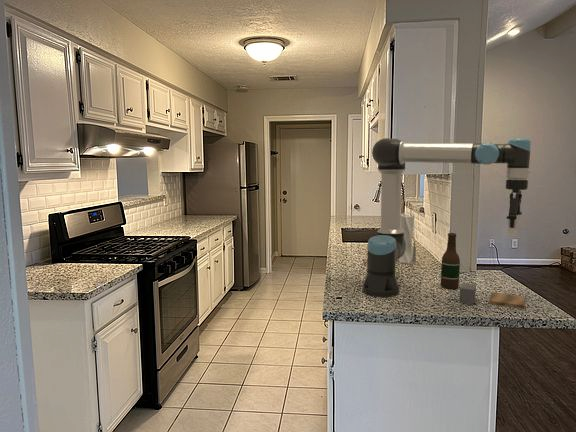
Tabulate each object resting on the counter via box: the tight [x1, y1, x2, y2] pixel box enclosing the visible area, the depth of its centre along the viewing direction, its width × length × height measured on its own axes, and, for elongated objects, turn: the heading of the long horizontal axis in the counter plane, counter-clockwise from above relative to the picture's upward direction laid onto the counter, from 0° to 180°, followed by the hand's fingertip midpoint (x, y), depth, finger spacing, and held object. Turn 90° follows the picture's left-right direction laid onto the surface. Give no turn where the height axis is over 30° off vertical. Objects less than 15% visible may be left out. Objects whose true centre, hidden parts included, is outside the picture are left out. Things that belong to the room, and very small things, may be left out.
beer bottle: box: [440, 232, 461, 290], centre depth 191 cm, size 8×8×24 cm
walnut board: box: [488, 291, 525, 309], centre depth 173 cm, size 12×12×1 cm
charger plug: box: [459, 282, 477, 306], centre depth 175 cm, size 5×10×6 cm, turn 152°
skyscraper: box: [398, 211, 417, 265], centre depth 234 cm, size 8×8×28 cm
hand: (513, 233), depth 171 cm, fingers open, 13 cm apart
